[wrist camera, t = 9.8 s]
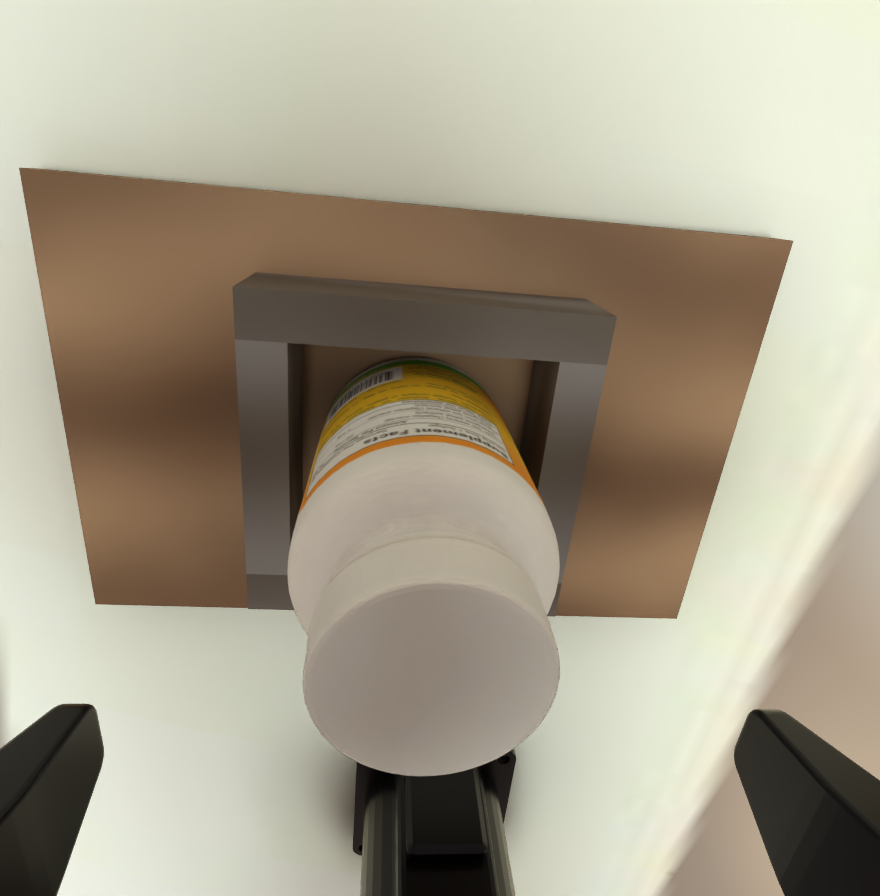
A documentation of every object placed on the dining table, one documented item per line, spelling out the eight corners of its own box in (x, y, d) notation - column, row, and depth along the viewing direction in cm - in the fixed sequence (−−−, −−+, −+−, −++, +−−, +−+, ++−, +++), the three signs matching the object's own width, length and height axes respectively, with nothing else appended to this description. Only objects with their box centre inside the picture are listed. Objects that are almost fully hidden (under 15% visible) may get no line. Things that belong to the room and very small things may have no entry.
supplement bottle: (472, 532, 19) (539, 825, 10) (307, 498, 18) (229, 787, 10) (526, 379, 17) (665, 581, 8) (345, 331, 16) (289, 502, 8)
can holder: (665, 601, 22) (710, 670, 19) (108, 585, 20) (55, 659, 17) (771, 237, 17) (858, 249, 14) (41, 168, 15) (-52, 163, 12)
